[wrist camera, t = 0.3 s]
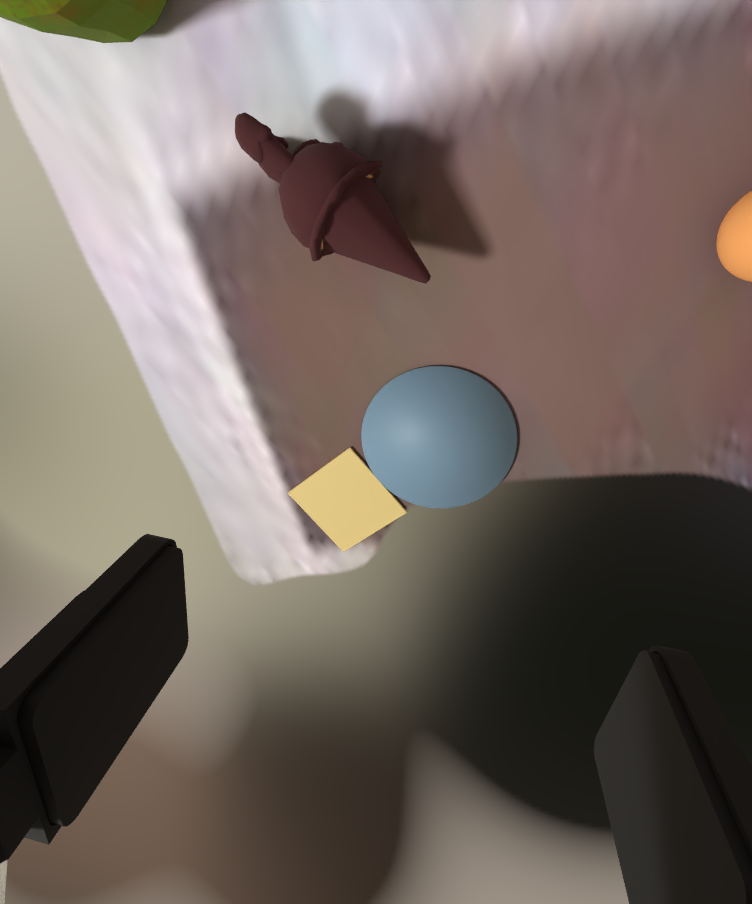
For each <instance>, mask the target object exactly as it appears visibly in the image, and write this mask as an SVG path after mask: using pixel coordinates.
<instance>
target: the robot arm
mask: <svg viewBox="0 0 752 904" xmlns="http://www.w3.org/2000/svg"><path fill="white" fill-rule="evenodd" d="M187 645H188V625H187V609H186V595H185V580H184V565H183V553H182V550H181V549H180V548H177V546H176V542H175V541H174V540H172V539H168V538H163V537H159V536H154V535H150V534H146V535H144V536H142V537H141V538H140V539H139V540H137V542H135V543H134V544H133V545H132V546H131V547H130V548H129V549H128V550H127V551H126V552H125V553H124V554H123V555H122V556H121V557H120V558H119V559H118V560H117V561H116V562H114V563H113V564H112V565H111V566H110V567H109V568H108V569H107V570H106V571H105V572H104V573H103V574H102V575H101V576H100V577H99V578H98V579H97V580H96V581H95V582H94V583H92V584H91V586H89V587H88V588H87V589H86V590H85V591H83V592H82V593H80V594H79V595H78V596H76V597H75V598H74V599H73V600H72V601H71V602H70V603H69V604H68V605H67V606H66V607H65V608H64V609H63V610H62V611H61V612H59V613H58V614H57V615H56V617H54V618H53V619H52V620H51V621H50V622H49V623H48V624H47V625H46V626H45V627H44V628H43V629H41V630H40V632H38V633H37V635H35V636H34V637H33V638H32V639H31V640H30V641H29V642H28V643H27V644H26V645H25V646H24V647H23V648H21V650H19V651H18V652H17V653H16V654H15V655H14V656H13V657H12V658H11V659H10V660H9V661H8V662H7V663H6V664H5V665H4V666H3V667H2V668H0V904H4V901H5V887H6V872H7V860H8V859H9V857H10V856H11V855H12V853H13V852H14V851H15V849H16V848H17V846H18V845H19V844H20V842H21V841H22V839H23V838H24V837H25V838H28V839H32V840H35V841H38V842H42V843H45V844H50V842H51V841H52V839H53V838H54V836H55V835H56V833H57V832H58V830H59V829H60V828H61V826H68V825H70V824H71V823H72V822H73V821H74V820H75V819H76V817H77V816H78V815H79V813H80V812H81V810H82V808H83V807H84V806H85V804H86V803H87V801H88V800H89V798H90V797H91V795H92V794H93V792H94V790H95V789H96V787H97V786H98V784H99V783H100V781H101V780H102V778H103V777H104V775H105V774H106V772H107V771H108V769H109V768H110V766H111V765H112V763H113V762H114V760H115V759H116V757H117V756H118V754H119V753H120V751H121V750H122V748H123V747H124V745H125V744H126V742H127V741H128V739H129V738H130V736H131V734H132V733H133V731H134V730H135V728H136V727H137V725H138V724H139V722H140V721H141V719H142V718H143V716H144V715H145V713H146V712H147V710H148V709H149V707H150V706H151V704H152V702H153V701H154V700H155V698H156V696H157V695H158V693H159V692H160V691H161V689H162V688H163V686H164V685H165V683H166V681H167V680H168V678H169V677H170V675H171V674H172V672H173V671H174V669H175V668H176V666H177V665H178V663H179V662H180V660H181V659H182V657H183V655H184V653H185V651H186V648H187ZM594 755H595V760H596V764H597V769H598V773H599V777H600V781H601V786H602V790H603V794H604V798H605V803H606V806H607V811H608V815H609V819H610V824H611V828H612V832H613V836H614V840H615V845H616V849H617V853H618V858H619V862H620V866H621V870H622V874H623V879H624V883H625V887H626V891H627V896H628V900H629V904H752V767H751V765H750V763H749V761H748V759H747V757H746V756H745V754H744V752H743V751H742V749H741V748H740V746H739V745H738V743H737V741H736V739H735V737H734V735H733V733H732V731H731V730H730V728H729V726H728V724H727V722H726V720H725V718H724V716H723V714H722V712H721V710H720V709H719V706H718V704H717V703H716V701H715V699H714V697H713V695H712V693H711V691H710V689H709V687H708V685H707V683H706V681H705V679H704V677H703V676H702V674H701V672H700V670H699V668H698V666H697V664H696V662H695V660H694V658H693V657H692V656H691V654H689V653H688V652H685V651H680V650H676V649H671V648H667V647H662V646H657V645H654V646H652V647H651V648H650V649H649V650H648V651H641V652H640V653H639V655H638V657H637V659H636V661H635V663H634V664H633V666H632V668H631V670H630V672H629V674H628V676H627V678H626V680H625V682H624V684H623V686H622V688H621V689H620V691H619V693H618V695H617V697H616V699H615V701H614V703H613V705H612V707H611V709H610V711H609V712H608V715H607V716H606V718H605V720H604V722H603V724H602V726H601V728H600V730H599V732H598V734H597V736H596V738H595V743H594Z"/></svg>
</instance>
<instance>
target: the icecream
mask: <svg viewBox="0 0 752 904" xmlns="http://www.w3.org/2000/svg"><path fill="white" fill-rule="evenodd" d="M235 134H236V138H237V140H238V142H239V144H240V146H241V148H242V149H243V150H244V151H245V152H246V153H247V154H248V155H249V156H250V157H251V158H252V159H253V160H255V161H257V162H258V163H259V165H260V166H261V168H262V169H263V170H264V171H265V173H266V174H267V175H268V176H269V177H270V178H272V179H273V180H275V181H277V182H278V183H280V186H279V193H280V199H281V204H282V209H283V214H284V218H285V220H286V222H287V224H288V226H289V228H290V230H291V232H292V234H293V235H294V236H295V237H296V238H297V239H298V240H299V241H300V242H301V243H302V245H303V246H305V247H308V248H310V253H311V257H312V261H317V260H320V259H321V258H322V256H325V255H329V254H332V253H333V252H334V253H337V254H340V255H343V256H346V257H349V258H352V259H355V260H358V261H361V262H364V263H367V264H369V265H372V266H375V267H378V268H381V269H384V270H387V271H390V272H393V273H396V274H399V275H402V276H404V277H407V278H410V279H413V280H416V281H419V282H422V283H425V284H426V283H427V282H428V281H429V280H430V277H431V276H430V274H429V272H428V270H427V269H426V267H425V265H424V264H423V262H422V261H421V259H420V257H419V256H418V254H417V252H416V251H415V249H414V248H413V246H412V244H411V243H410V241H409V239H408V238H407V236H406V234H405V233H404V231H403V229H402V228H401V226H400V224H399V223H398V221H397V220H396V218H395V216H394V215H393V213H392V211H391V210H390V208H389V206H388V205H387V203H386V201H385V200H384V198H383V196H382V195H381V193H380V191H379V190H378V188H377V186H376V185H375V183H374V182H375V180H376V179H377V177H378V175H379V173H380V170H379V169H380V168H381V167H382V161H366V160H365V159H364V157H363V156H362V155H361V154H359V153H356V152H354V151H351V150H349V149H347V148H346V147H345V146H344V145H343V144H342V143H340V142H334V143H331V144H330V143H324V142H321V143H320V142H319V141H318V140H317V139H314V140H309V141H306V142H304V143H302V144H301V145H300V146H299V147H297V148H296V149H295V151H294V154H293V156H292V154H291V153H290V152H289V151H288V150H287V148H288V146H289V145H288V143H287V142H286V141H285V139H284V138H281V137H277V136H275V135H273V134H272V132H271V129H270V128H269V127H268V126H266V125H264V124H262V123H260V122H259V121H258V120H256V119H255V118H254V117H252V116H250V115H249V114H247V113H242V114H239V115H237V117H236V119H235Z"/></svg>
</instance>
